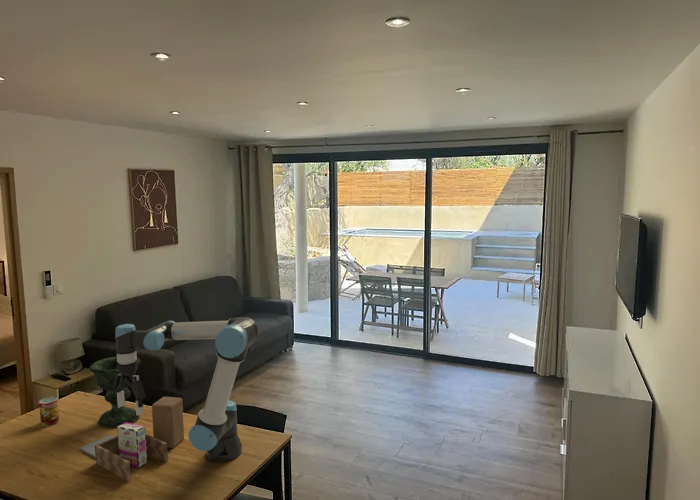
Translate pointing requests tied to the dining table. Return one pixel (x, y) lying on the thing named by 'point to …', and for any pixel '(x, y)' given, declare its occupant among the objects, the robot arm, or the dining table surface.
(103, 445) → the brown u-shaped piece
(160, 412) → the wooden block
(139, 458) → the candy bar box
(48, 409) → the canned food
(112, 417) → the goblet
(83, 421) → the dining table surface
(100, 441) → the slate mat
